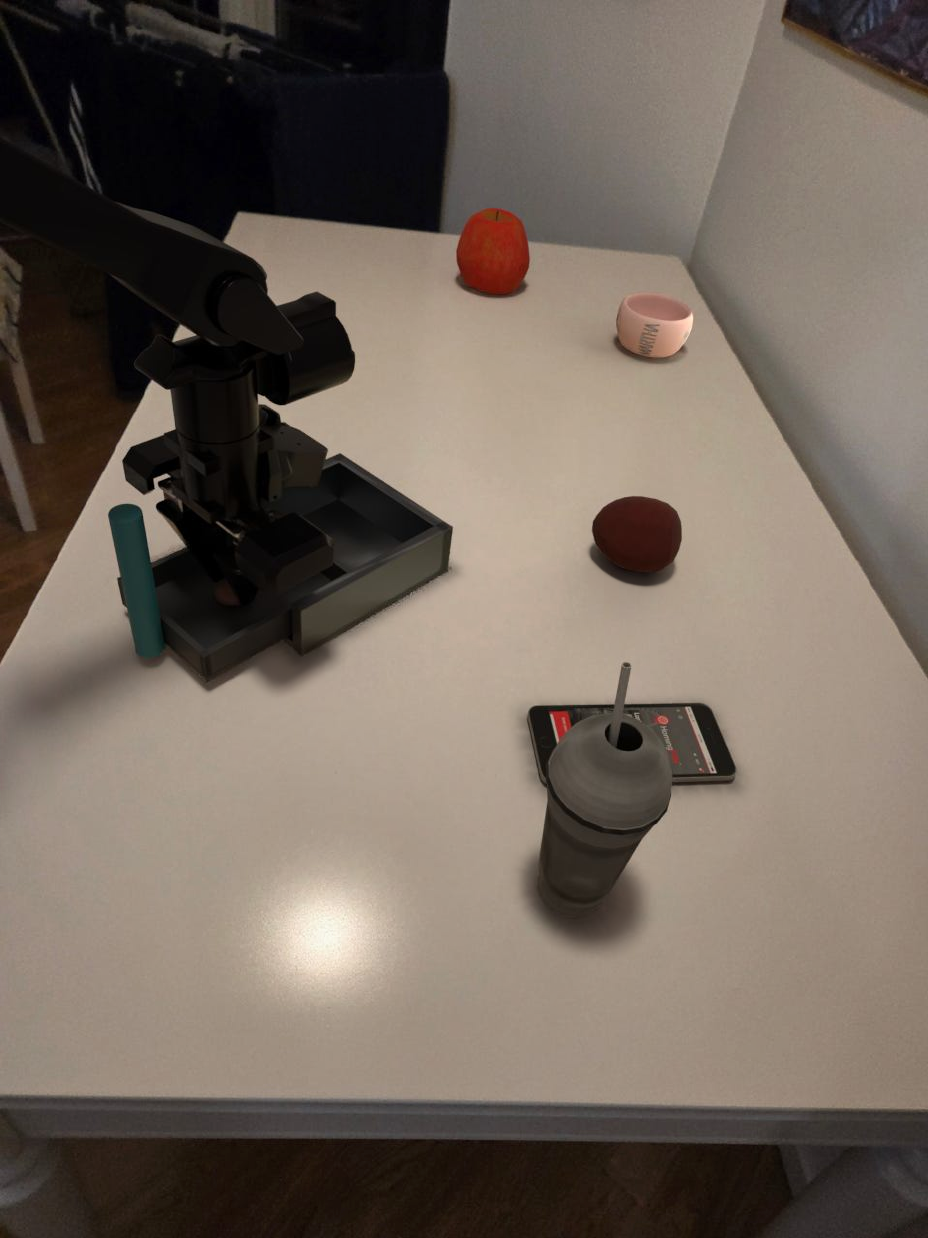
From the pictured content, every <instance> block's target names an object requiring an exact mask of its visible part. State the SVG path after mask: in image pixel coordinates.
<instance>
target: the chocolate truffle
mask: <svg viewBox="0 0 928 1238" xmlns="http://www.w3.org/2000/svg"><path fill="white" fill-rule="evenodd" d="M215 598H216V599H217V601H218V602H219V603H221V604H223V605H225V606H230V607H236V606H240V605H241V604H240V603H239V601H238V600H237V598H236V596H235V595H234V593H233V591H232V589H231V587H230V586H229V584H228V582H227V580H225V581H222V582H221V583H219V584H218V586H217V587H216V589H215Z"/></svg>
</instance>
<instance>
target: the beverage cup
mask: <svg viewBox="0 0 928 1238" xmlns="http://www.w3.org/2000/svg"><path fill="white" fill-rule="evenodd" d="M631 671H632V663H631V662H629V661H623V662H622V663H621V666H620V671H619V678H618V683H617V688H616V694H615V698H614V699H615V700H614V704H615V705H614V710H613V713H605V714H598V715H593V716H590V717H588V718H586V719H584V720H581V721H580V722H578V723H576V724H575V725H574V726H573V727H571V728H570V729H569V730H568V731H567V732H566V733H565V734H564V735H563V736H562V737H561V739H560V740H559V742H558V743H557V746H556V747H555V748H554V749H553V751H552V752H551V755H550V757H549V759H548V762H547V764H546V783H547V784H546V783H545V784H546V794H547V795H546V796H547V799H546V800H547V802H546V808H545V813H544V814H545V815H544V820H543V821H544V822H543V827H542V829H543V830H542V837H541V842H540V848H539V849H540V850H539V857H538V865H537V868H538V870H537V871H538V872H537V873H538V874H537V880H536V881H537V883H536V884H537V890H538V893H539V896H540V898H541V899H542V901H543V902H544V903H545V905H546V906H547V907H549V908H550V909H551V910H552V911H554V912H555V913H557V914H559V915H561V916H564V917H568V918H576V919H577V918H583V917H587V916H589V915H591V914H593V913H594V912H596V911H597V910H598V909H599V908H600V906H602V904H603V902H604V900H605V899H606V898H607V896H609V894H610V893H611V891H612V889H613V888H614V886H615V885H616V883H617V881H618V880H619V878H620V877H621V875H622V873H623V871H624V870H625V868H626V867H627V866H628V863H629V862H630V860H631V858H632V857H633V855H634V853H635V852H636V850H637V848H638V847H639V845H640V843H641V842H642V841H643V839H644V837H646V835H647V834H648V833H650V831H651V830H652V828H653V827H654V826H655V825H658V823H659V822H660V820H661V819H662V818H663V817H664V816H665V814H666V813H667V812H668V810H669V806H670V803H671V802H670V801H671V798H672V787H673V782H672V779H673V777H672V770H671V763H670V757H669V755H668V753H667V751H666V749H665V747H664V745H663V743H662V741H661V739H660V738H659V737H658V736H657V735H656V734H655V733H654V732H653V731H652V730H651V728H650V727H649V726H647V725H645V724H644V723H642V722H641V721H639V720H638V719H635V718H633V717H630V716H627V715H624V714H623V709H624V704H626V697H627V693H628V692H627V691H628V688H629V681H630V675H631Z"/></svg>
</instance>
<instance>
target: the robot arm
mask: <svg viewBox="0 0 928 1238" xmlns="http://www.w3.org/2000/svg"><path fill="white" fill-rule="evenodd" d="M0 223H1V224H3V225H6V226H7V227H10V228H12V229H14V230H15V231H19V232H20V233H22V234H25V235H26V236H29V237H31V238H33V239H35V240H37V241H39V242H42V243H44V244H45V245H48V246H50V247H51V248H54V249H56V250H57V251H60V252H62V253H64V254H67V255H68V256H70V257H73V258H75V259H76V260H79V261H81V262H83V263H85V264H87V265H90V266H92V267H94V268H96V269H98V270H100V271H102V272H104V273H107V274H109V276H111V277H112V278H114V279H115V281H117V282H119V283H120V284H121V286H123V287H125V288H127V290H129V291H130V292H132V293H133V294H135V295H136V296H137V297H138V298H140V299H141V300H143V301H144V302H145V303H147V304H148V305H149V306H151V307H152V308H154V309H155V310H157V311H159V312H160V313H161V314H163V315H164V316H166V317H168V318H169V319H171V320H172V321H174V322H175V323H177V324H179V325H180V326H182V327H183V328H185V329H186V330H188V331H190V332H191V333H193V334H194V335H193V336H188V337H186V338H182V339H179V340H175V341H172V340H171V339H169V338H168V337H166V336H165V335H163V334H159V333H158V334H156V336H155V337H154V339H153V341H152V342H151V344H150V345H149V346H148V347H147V348H146V349H144V350H143V351H142V352H141V353H140V354H139V355H138V356H137V358H136V359H135V360H134V363H133V365H134V368H135V369H136V370H137V371H138V372H140V373H141V374H143V375H144V376H146V377H147V378H149V379H150V380H152V381H153V382H154V383H155V384H157V385H158V386H160V387H161V388H163V390H167V391H170V397H171V405H172V413H173V422H174V429H172V430H169V431H167V432H164V433H163V434H161V435H159V436H156V437H153V438H150V439H148V440H145V441H142V442H140V443H137V444H134V445H131V446H130V447H129V449H128V450H127V452H126V454H125V455H124V456H123V459H121V463H122V469H123V474H124V479H125V481H126V482H127V483H128V484H129V485H130V486H132V487H133V488H134V489H135V490H137V491H138V492H139V493H140V494H141V495H143V496H146V495H149V494H151V493H152V492H153V491H155V489H156V485H155V481H154V479H156V478H159V477H162V476H164V475H168V477H166V478H164V479H161V480H159V481H157V487H158V488H159V489H160V490H162V493H163V499H162V500H159V501H158V502H157V503H156V504H155V509H156V511H157V513H158V514H159V515H161V516H162V518H163V519H164V520H165V522H166V523H167V524H168V525H169V527H171V529H172V530H173V532H174V533H175V534H176V535H177V537H178V538H179V539H180V540H181V542H182V543H183V544H184V545H185V547H187V548H188V549H189V550H190V552H191V553H192V554H193V556H194V557H195V558H196V560H197V561H198V562H199V564H200V565H201V566H202V568H203V569H204V570H205V572H206V573H207V574H208V576H209V577H210V578H211V580H212V581H214V582H218V581H220V580H222V579H224V578H226V580H227V582H228V584H229V586H230V587H231V589H232V591H233V593H234V595H235V596H236V598H237V600H238V601H239V603H240V604H241V605H242V606H245V605H247V604H249V603H251V602H253V601H254V599H255V597H256V594H257V592H258V589H260V590H261V591H263V592H264V593H265V594H275V595H277V594H279V593H281V592H283V591H285V590H287V589H289V588H291V587H292V586H294V585H296V584H298V583H300V582H302V581H304V580H306V579H308V578H309V577H311V576H313V575H315V574H317V573H319V572H321V571H323V570H325V569H326V568H328V567H330V566H332V565H333V556H334V539H333V538H332V537H330V536H329V535H328V534H326V533H325V532H324V531H322V530H321V529H319V528H318V527H317V526H315V525H314V524H313V523H311V522H310V521H308V520H307V519H306V518H304V517H303V516H301V515H299V514H297V513H295V512H293V513H290V514H288V515H286V516H285V515H283V514H282V513H281V512H279V511H277V510H265V509H263V508H262V507H261V502H263V501H265V500H266V501H268V502H269V503H271V502H273V501H275V500H277V499H280V498H282V497H283V496H282V487H302V486H307V487H309V488H316V487H317V486H318V484H319V480H320V477H321V473H322V470H323V466H324V463H325V459H327V456H328V452H329V449H328V447H327V446H325V445H324V444H323V443H321V442H319V441H317V439H314V438H313V437H311V436H310V435H309V434H307V433H306V432H304V431H302V430H301V429H299V428H296V427H294V426H291V425H290V424H288V423H287V422H285V421H282V419H281V418H282V417H281V414H280V413H279V412H277V411H276V410H275V409H273V408H272V407H270V406H268V405H267V404H265V403H264V404H263V403H259V396H261V397H264V398H265V399H267V401H268V402H270V403H272V404H274V405H277V406H279V407H281V406H286V405H290V404H292V403H295V402H297V401H300V400H303V399H306V398H309V397H311V396H314V395H317V394H318V393H322V392H324V391H327V390H329V389H332V388H335V387H339V386H340V385H344V384H345V383H347V382H348V381H349V380H350V379H351V378H352V376H353V375H354V371H355V366H356V353H355V351H354V350H353V347H352V343H351V340H350V336H349V334H348V332H347V330H346V328H345V327H344V325H343V323H342V322H341V320H340V319H339V318H338V316H337V302H336V301H335V300H334V299H332V298H330V297H328V296H326V295H325V294H323V293H321V292H319V291H313V292H310V293H307V294H304V295H303V296H300V297H298V299H295V300H291V301H289V302H284V303H282V304H275V302H274V301H273V299H272V298H271V297H270V296H269V294H268V291H269V289H268V283H267V279H268V274H267V271H265V269H264V267H263V266H262V265H261V263H259V262H258V261H257V260H255V259H254V258H253V257H251V256H249V255H248V254H246V253H244V252H242V251H240V250H238V249H236V248H235V247H233V246H231V245H229V244H228V243H226V242H225V241H222V240H220V239H218V238H217V237H215V236H213V235H211V234H209V233H207V232H205V231H204V230H202V229H200V228H198V227H196V226H193V225H192V224H189V223H186V222H183V221H180V220H177V219H174V218H172V217H169V216H165V215H163V214H159V213H156V212H154V211H149V210H145V209H142V208H141V209H140V208H137V207H136V208H135V207H132V206H129V205H127V204H123V203H120V202H117V201H114V200H112V199H111V198H109V197H107V196H106V195H104V194H102V193H100V192H98V191H97V190H95V189H93V188H91V187H90V186H88V185H86V184H85V183H83V182H81V181H80V180H77V179H76V178H74V177H72V176H70V175H68V174H66V173H65V172H64V171H61V170H60V169H58V168H56V167H54V166H53V165H51V164H49V163H47V162H45V161H44V160H42V159H40V158H38V157H37V156H34V155H33V154H31V153H30V152H27V151H26V150H24V149H23V148H21V147H19V146H17V145H15V144H14V143H12V142H11V141H8V140H6V139H5V138H3V137H1V136H0ZM227 532H228V533H230V534H231V535H232V536H233V537H235V538H238V539H234V540H233V544H232V545H230V546H228V547H227Z"/></svg>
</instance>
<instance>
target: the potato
mask: <svg viewBox="0 0 928 1238" xmlns="http://www.w3.org/2000/svg"><path fill="white" fill-rule="evenodd" d="M682 528H683V526H682V521H681V517H680V515H679V512H678V511H677V510H676V509H675V508H674V507H673V506H672V505H671V504H669V503H668V502H665V501H662V500H660V499H657V498H654V497H648V496H643V495H631V496H624V497H621V498H617V499H615V500H613V501H611V502H609V503H607V504H606V505H604V506H603V507H601V509H600V510H599V512H598V513H597V514H596V515H595V517H594V519H593V521H592V526H591V532H592V538H593V540H594V544H595V546H596V547H597V549H598V550H599V551H600V553H601V554H602V555H603V556H604V557H605V558H606V560H609V561H610V562H611V563H612V564H614V565H616V566H618V567H621V568H623V569H625V570H628V571H634V572H643V573H653V572H659V571H662V570H664V569H666V568H667V567H669V566H670V565H671V564H672V563H674V561H675V560H676V558H677V556H678V553H679V551H680V548H681V545H682V541H683V529H682Z"/></svg>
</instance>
